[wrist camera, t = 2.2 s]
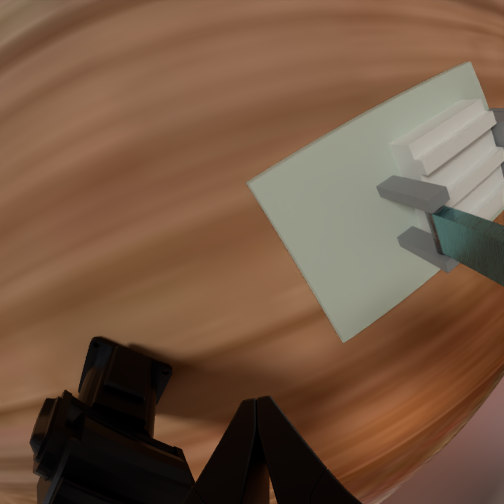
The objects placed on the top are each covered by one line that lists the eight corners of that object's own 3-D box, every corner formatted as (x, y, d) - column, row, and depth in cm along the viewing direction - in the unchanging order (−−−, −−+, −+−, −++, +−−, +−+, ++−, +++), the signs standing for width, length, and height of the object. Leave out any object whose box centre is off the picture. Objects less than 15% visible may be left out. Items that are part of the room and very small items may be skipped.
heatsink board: (338, 336, 24) (375, 386, 18) (245, 182, 19) (269, 198, 13) (506, 197, 23) (553, 212, 17) (464, 62, 18) (518, 54, 12)
